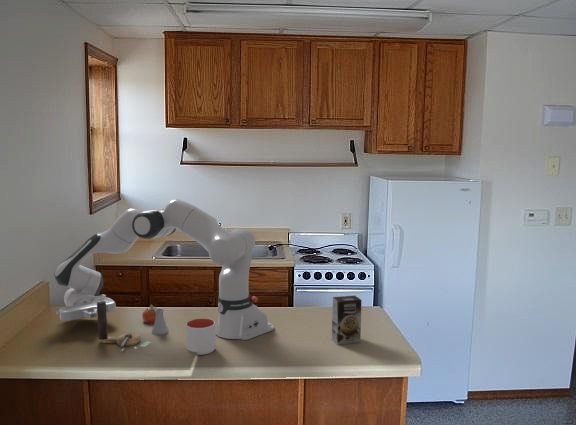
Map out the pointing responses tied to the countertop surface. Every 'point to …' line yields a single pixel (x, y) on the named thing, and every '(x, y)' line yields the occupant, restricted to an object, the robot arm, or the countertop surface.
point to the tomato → (149, 314)
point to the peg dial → (102, 330)
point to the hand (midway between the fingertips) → (93, 315)
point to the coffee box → (346, 320)
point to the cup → (200, 336)
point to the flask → (159, 323)
